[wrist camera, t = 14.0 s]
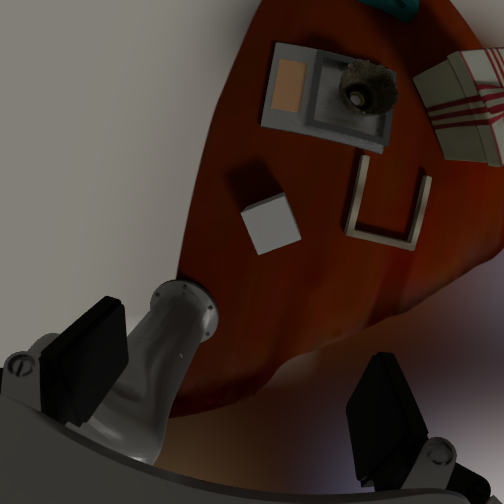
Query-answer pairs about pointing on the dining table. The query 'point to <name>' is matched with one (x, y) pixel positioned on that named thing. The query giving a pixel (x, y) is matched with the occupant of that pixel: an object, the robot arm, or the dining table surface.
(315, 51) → the grey flat rectangular tray
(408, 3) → the bracket
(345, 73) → the cup
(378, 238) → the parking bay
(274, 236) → the white cube
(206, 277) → the dining table surface
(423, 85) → the gift box
